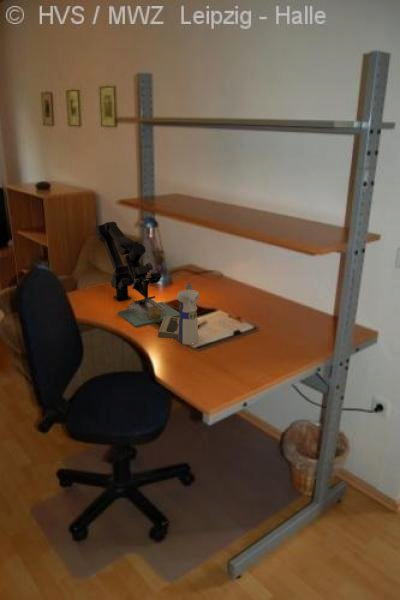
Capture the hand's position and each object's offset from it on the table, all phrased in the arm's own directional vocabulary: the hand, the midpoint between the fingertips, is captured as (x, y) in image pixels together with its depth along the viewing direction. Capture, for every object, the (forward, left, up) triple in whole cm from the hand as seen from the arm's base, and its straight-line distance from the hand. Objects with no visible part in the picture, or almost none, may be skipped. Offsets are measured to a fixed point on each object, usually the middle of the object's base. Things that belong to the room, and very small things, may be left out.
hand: (147, 298), depth 201 cm
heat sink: (+1, 0, -7) cm, 7 cm away
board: (0, +1, -8) cm, 8 cm away
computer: (+18, +1, -9) cm, 20 cm away
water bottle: (+31, +2, -8) cm, 32 cm away
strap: (-1, 0, -1) cm, 1 cm away
